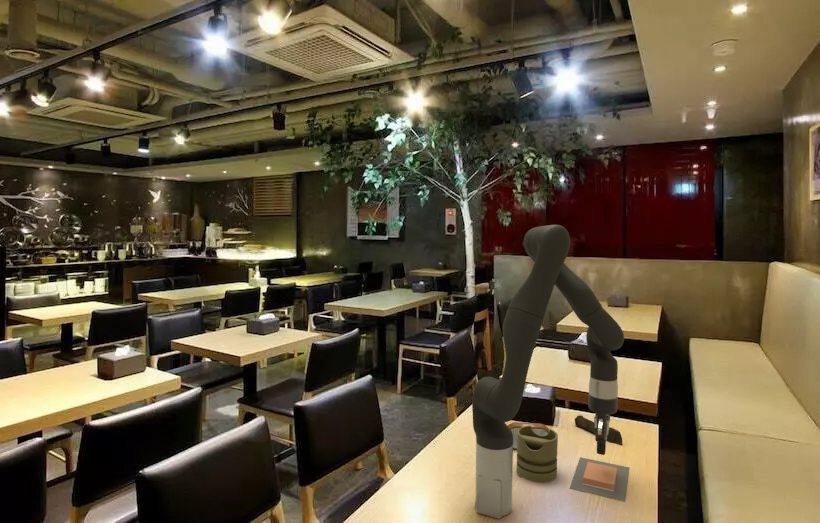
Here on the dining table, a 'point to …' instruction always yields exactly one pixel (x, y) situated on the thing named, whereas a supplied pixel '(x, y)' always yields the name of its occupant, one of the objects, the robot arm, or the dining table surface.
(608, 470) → the tile
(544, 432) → the tin
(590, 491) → the mat
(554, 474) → the piston
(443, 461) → the dining table surface
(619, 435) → the hand tool
